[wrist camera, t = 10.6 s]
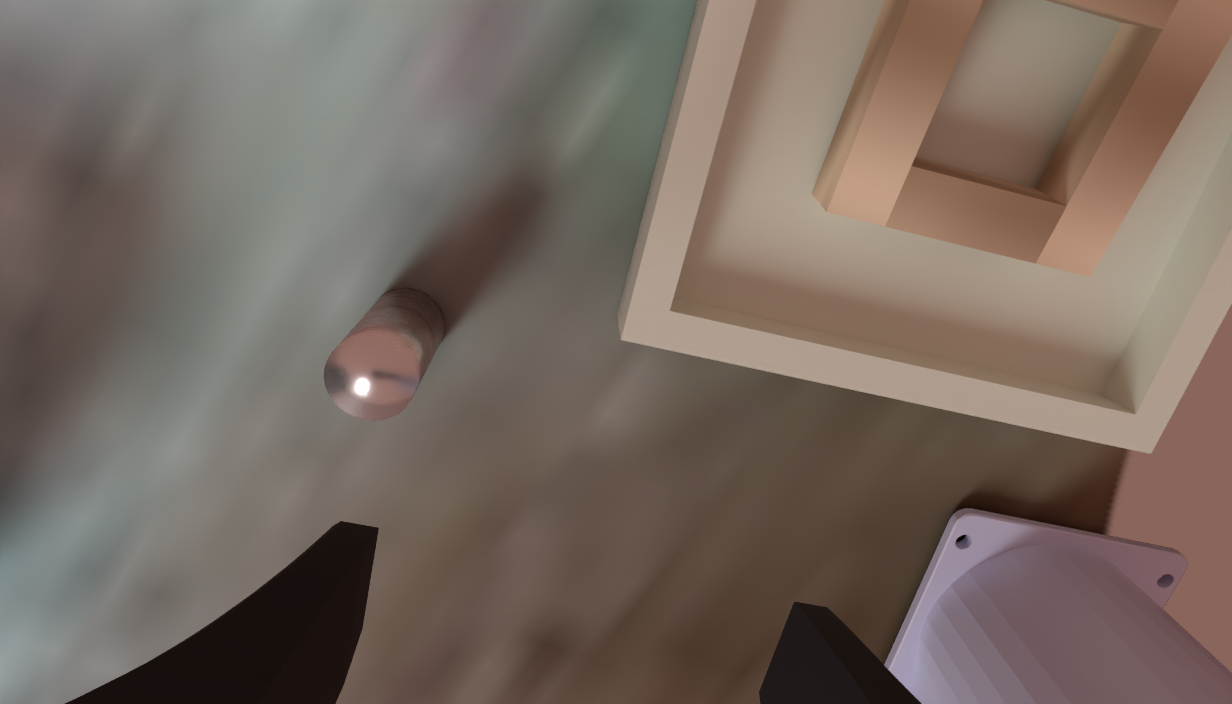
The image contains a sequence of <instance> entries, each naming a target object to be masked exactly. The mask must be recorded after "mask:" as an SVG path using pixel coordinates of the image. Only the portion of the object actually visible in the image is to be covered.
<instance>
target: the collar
mask: <svg viewBox="0 0 1232 704" xmlns="http://www.w3.org/2000/svg"><path fill="white" fill-rule="evenodd" d="M1046 1H1049V2H1053V3H1056V4H1059V5H1063V6H1066V7H1070V8H1073V9H1076V10H1080V11H1083V12H1087V13H1090V14H1093V15H1097V16H1100V17H1104V18H1107V19H1110V20H1114V21H1117V22H1120V23H1121V24H1120V26H1119V28H1118V30H1117V32H1116V34H1115V36H1114V38H1113V40H1112V42H1111V43H1110V45H1109V47H1108V49H1107V51H1106V53H1105V55H1104V57H1103V59H1102V61H1101V63H1100V65H1099V67H1098V69H1097V70H1096V72H1095V74H1094V76H1093V78H1092V80H1091V82H1090V84H1089V86H1088V88H1087V90H1086V92H1085V94H1084V96H1083V98H1082V99H1081V101H1080V103H1079V105H1078V107H1077V109H1076V111H1075V113H1074V115H1073V117H1072V119H1071V121H1070V123H1069V125H1068V126H1067V128H1066V130H1065V132H1064V134H1063V136H1062V138H1061V140H1060V142H1059V144H1058V146H1057V148H1056V150H1055V152H1054V153H1053V155H1052V157H1051V159H1050V161H1049V163H1048V165H1047V167H1046V169H1045V171H1044V173H1043V175H1042V177H1041V179H1040V180H1039V182H1038V184H1037V186H1036V188H1033V187H1029V186H1025V185H1021V184H1017V183H1014V182H1010V181H1006V180H1002V179H998V178H994V177H991V176H987V175H983V174H979V173H975V172H971V171H968V170H964V169H960V168H956V167H952V166H948V165H945V164H941V163H937V162H933V161H929V160H925V159H921V158H918V157H915V156H916V154H917V152H918V150H919V147H920V145H921V143H922V140H923V138H924V136H925V133H926V131H927V129H928V126H929V124H930V122H931V120H932V117H933V115H934V113H935V110H936V108H937V106H938V103H939V101H940V99H941V97H942V94H943V92H944V90H945V87H946V85H947V83H948V80H949V78H950V76H951V73H952V71H953V69H954V67H955V64H956V62H957V60H958V57H959V55H960V53H961V50H962V48H963V46H964V44H965V41H966V39H967V37H968V34H969V32H970V30H971V27H972V25H973V23H974V20H975V18H976V16H977V14H978V11H979V9H980V7H981V4H982V2H983V0H885V1H884V4H883V6H882V9H881V11H880V14H879V17H878V19H877V22H876V25H875V27H874V30H873V33H872V35H871V38H870V40H869V43H868V46H867V48H866V51H865V54H864V56H863V59H862V62H861V64H860V67H859V70H858V72H857V75H856V77H855V80H854V83H853V85H852V88H851V91H850V93H849V96H848V99H847V101H846V104H845V107H844V109H843V112H842V114H841V117H840V120H839V122H838V125H837V128H836V130H835V133H834V136H833V138H832V141H831V144H830V146H829V149H828V151H827V154H826V157H825V159H824V162H823V165H822V167H821V170H820V173H819V175H818V178H817V181H816V183H815V186H814V188H813V191H812V195H813V196H814V197H815V199H816V200H817V201H818V202H819V203H820V205H821V206H822V207H823V208H824V210H825V211H826V212H828V213H832V214H836V215H840V216H844V217H848V218H852V219H856V220H860V221H865V222H869V223H873V224H877V225H881V226H885V227H889V228H893V229H897V230H901V231H905V232H909V233H913V234H917V235H921V236H925V237H929V238H933V239H937V240H941V241H946V242H950V243H954V244H958V245H962V246H966V247H970V248H974V249H978V250H982V251H986V252H990V253H994V254H998V255H1002V256H1006V257H1010V258H1014V259H1018V260H1023V261H1027V262H1031V263H1035V264H1039V265H1043V266H1047V267H1051V268H1055V269H1059V270H1063V271H1067V272H1071V273H1075V274H1079V275H1083V276H1087V277H1090V276H1091V274H1092V273H1093V271H1094V269H1095V268H1096V266H1097V264H1098V262H1099V261H1100V259H1101V257H1102V256H1103V254H1104V252H1105V251H1106V249H1107V247H1108V245H1109V244H1110V242H1111V240H1112V239H1113V237H1114V235H1115V233H1116V232H1117V230H1118V228H1119V227H1120V225H1121V223H1122V221H1123V220H1124V218H1125V216H1126V215H1127V213H1128V211H1129V210H1130V208H1131V206H1132V204H1133V203H1134V201H1135V199H1136V198H1137V196H1138V194H1139V192H1140V191H1141V189H1142V187H1143V186H1144V184H1145V182H1146V180H1147V179H1148V177H1149V175H1150V174H1151V172H1152V170H1153V169H1154V167H1155V165H1156V163H1157V162H1158V160H1159V158H1160V157H1161V155H1162V153H1163V151H1164V150H1165V148H1166V146H1167V145H1168V143H1169V141H1170V139H1171V138H1172V136H1173V134H1174V133H1175V131H1176V129H1177V128H1178V126H1179V124H1180V122H1181V121H1182V119H1183V117H1184V116H1185V114H1186V112H1187V110H1188V109H1189V107H1190V105H1191V104H1192V102H1193V100H1194V98H1195V97H1196V95H1197V93H1198V92H1199V90H1200V88H1201V87H1202V85H1203V83H1204V81H1205V80H1206V78H1207V76H1208V75H1209V73H1210V71H1211V69H1212V68H1213V66H1214V64H1215V63H1216V61H1217V59H1218V57H1219V56H1220V54H1221V52H1222V51H1223V49H1224V47H1225V46H1226V44H1227V42H1228V40H1229V39H1230V37H1231V35H1232V0H1046Z"/></svg>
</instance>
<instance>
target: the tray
mask: <svg viewBox="0 0 1232 704" xmlns="http://www.w3.org/2000/svg"><path fill="white" fill-rule="evenodd" d="M884 1H885V0H697V4H696V8H695V12H694V16H693V20H692V24H691V28H690V32H689V36H688V40H687V43H686V47H685V51H684V55H683V59H682V63H681V67H680V71H679V75H678V79H677V83H676V87H675V91H674V94H673V98H672V102H671V106H670V110H669V114H668V118H667V122H666V126H665V130H664V134H663V138H662V141H661V145H660V149H659V153H658V157H657V161H656V165H655V169H654V173H653V177H652V181H651V185H650V188H649V192H648V196H647V200H646V204H645V208H644V212H643V216H642V220H641V224H640V228H639V232H638V235H637V239H636V243H635V247H634V251H633V255H632V259H631V263H630V267H629V271H628V275H627V279H626V283H625V286H624V290H623V294H622V298H621V302H620V306H619V310H618V314H617V319H618V325H619V331H620V338H621V340H624V341H629V342H633V343H638V344H643V345H647V346H652V347H657V348H661V349H666V350H671V351H675V352H680V353H684V354H689V355H694V356H698V357H703V358H708V359H712V360H717V361H722V362H726V363H731V364H735V365H740V366H745V367H749V368H754V369H759V370H763V371H768V372H773V373H777V374H782V375H786V376H791V377H796V378H800V379H805V380H810V381H814V382H819V383H824V384H828V385H833V386H837V387H842V388H847V389H851V390H856V391H861V392H865V393H870V394H875V395H879V396H884V397H888V398H893V399H898V400H902V401H907V402H912V403H916V404H921V405H926V406H930V407H935V408H939V409H944V410H949V411H953V412H958V413H963V414H967V415H972V416H977V417H981V418H986V419H991V420H995V421H1000V422H1004V423H1009V424H1014V425H1018V426H1023V427H1028V428H1032V429H1037V430H1042V431H1046V432H1051V433H1055V434H1060V435H1065V436H1069V437H1074V438H1079V439H1083V440H1088V441H1093V442H1097V443H1102V444H1106V445H1111V446H1116V447H1120V448H1125V449H1130V450H1134V451H1139V452H1144V453H1148V454H1152V452H1153V450H1154V448H1155V446H1156V444H1157V442H1158V440H1159V439H1160V437H1161V435H1162V433H1163V431H1164V429H1165V427H1166V425H1167V424H1168V422H1169V420H1170V418H1171V416H1172V414H1173V412H1174V411H1175V409H1176V407H1177V405H1178V403H1179V401H1180V399H1181V397H1182V396H1183V394H1184V392H1185V390H1186V388H1187V386H1188V384H1189V382H1190V381H1191V379H1192V377H1193V375H1194V373H1195V371H1196V369H1197V367H1198V366H1199V364H1200V362H1201V360H1202V358H1203V356H1204V354H1205V353H1206V350H1207V349H1208V347H1209V345H1210V343H1211V341H1212V339H1213V337H1214V336H1215V333H1216V332H1217V330H1218V328H1219V326H1220V324H1221V322H1222V321H1223V319H1224V317H1225V315H1226V313H1227V311H1228V309H1229V308H1230V306H1231V304H1232V35H1231V37H1230V39H1229V40H1228V42H1227V44H1226V46H1225V47H1224V49H1223V51H1222V52H1221V54H1220V56H1219V57H1218V59H1217V61H1216V63H1215V64H1214V66H1213V68H1212V69H1211V71H1210V73H1209V75H1208V76H1207V78H1206V80H1205V81H1204V83H1203V85H1202V87H1201V88H1200V90H1199V92H1198V93H1197V95H1196V97H1195V98H1194V100H1193V102H1192V104H1191V105H1190V107H1189V109H1188V110H1187V112H1186V114H1185V116H1184V117H1183V119H1182V121H1181V122H1180V124H1179V126H1178V128H1177V129H1176V131H1175V133H1174V134H1173V136H1172V138H1171V139H1170V141H1169V143H1168V145H1167V146H1166V148H1165V150H1164V151H1163V153H1162V155H1161V157H1160V158H1159V160H1158V162H1157V163H1156V165H1155V167H1154V169H1153V170H1152V172H1151V174H1150V175H1149V177H1148V179H1147V180H1146V182H1145V184H1144V186H1143V187H1142V189H1141V191H1140V192H1139V194H1138V196H1137V198H1136V199H1135V201H1134V203H1133V204H1132V206H1131V208H1130V210H1129V211H1128V213H1127V215H1126V216H1125V218H1124V220H1123V221H1122V223H1121V225H1120V227H1119V228H1118V230H1117V232H1116V233H1115V235H1114V237H1113V239H1112V240H1111V242H1110V244H1109V245H1108V247H1107V249H1106V251H1105V252H1104V254H1103V256H1102V257H1101V259H1100V261H1099V262H1098V264H1097V266H1096V268H1095V269H1094V271H1093V273H1092V274H1091V276H1090V277H1087V276H1083V275H1079V274H1075V273H1071V272H1067V271H1063V270H1059V269H1055V268H1051V267H1047V266H1043V265H1039V264H1035V263H1031V262H1027V261H1023V260H1018V259H1014V258H1010V257H1006V256H1002V255H998V254H994V253H990V252H986V251H982V250H978V249H974V248H970V247H966V246H962V245H958V244H954V243H950V242H946V241H941V240H937V239H933V238H929V237H925V236H921V235H917V234H913V233H909V232H905V231H901V230H897V229H893V228H889V227H885V226H881V225H877V224H873V223H869V222H865V221H860V220H856V219H852V218H848V217H844V216H840V215H836V214H832V213H828V212H826V211H825V210H824V208H823V207H822V206H821V205H820V203H819V202H818V201H817V200H816V199H815V197H814V196H813V195H812V191H813V188H814V186H815V183H816V181H817V178H818V175H819V173H820V170H821V167H822V165H823V162H824V159H825V157H826V154H827V151H828V149H829V146H830V144H831V141H832V138H833V136H834V133H835V130H836V128H837V125H838V122H839V120H840V117H841V114H842V112H843V109H844V107H845V104H846V101H847V99H848V96H849V93H850V91H851V88H852V85H853V83H854V80H855V77H856V75H857V72H858V70H859V67H860V64H861V62H862V59H863V56H864V54H865V51H866V48H867V46H868V43H869V40H870V38H871V35H872V33H873V30H874V27H875V25H876V22H877V19H878V17H879V14H880V11H881V9H882V6H883V4H884ZM1120 24H1121V23H1120V22H1117V21H1114V20H1110V19H1107V18H1104V17H1100V16H1097V15H1093V14H1090V13H1087V12H1083V11H1080V10H1076V9H1073V8H1070V7H1066V6H1063V5H1059V4H1056V3H1053V2H1049V1H1046V0H983V2H982V4H981V7H980V9H979V11H978V14H977V16H976V18H975V20H974V23H973V25H972V27H971V30H970V32H969V34H968V37H967V39H966V41H965V44H964V46H963V48H962V50H961V53H960V55H959V57H958V60H957V62H956V64H955V67H954V69H953V71H952V73H951V76H950V78H949V80H948V83H947V85H946V87H945V90H944V92H943V94H942V97H941V99H940V101H939V103H938V106H937V108H936V110H935V113H934V115H933V117H932V120H931V122H930V124H929V126H928V129H927V131H926V133H925V136H924V138H923V140H922V143H921V145H920V147H919V150H918V152H917V154H916V156H915V157H918V158H921V159H925V160H929V161H933V162H937V163H941V164H945V165H948V166H952V167H956V168H960V169H964V170H968V171H971V172H975V173H979V174H983V175H987V176H991V177H994V178H998V179H1002V180H1006V181H1010V182H1014V183H1017V184H1021V185H1025V186H1029V187H1033V188H1036V186H1037V184H1038V182H1039V180H1040V179H1041V177H1042V175H1043V173H1044V171H1045V169H1046V167H1047V165H1048V163H1049V161H1050V159H1051V157H1052V155H1053V153H1054V152H1055V150H1056V148H1057V146H1058V144H1059V142H1060V140H1061V138H1062V136H1063V134H1064V132H1065V130H1066V128H1067V126H1068V125H1069V123H1070V121H1071V119H1072V117H1073V115H1074V113H1075V111H1076V109H1077V107H1078V105H1079V103H1080V101H1081V99H1082V98H1083V96H1084V94H1085V92H1086V90H1087V88H1088V86H1089V84H1090V82H1091V80H1092V78H1093V76H1094V74H1095V72H1096V70H1097V69H1098V67H1099V65H1100V63H1101V61H1102V59H1103V57H1104V55H1105V53H1106V51H1107V49H1108V47H1109V45H1110V43H1111V42H1112V40H1113V38H1114V36H1115V34H1116V32H1117V30H1118V28H1119V26H1120Z"/></svg>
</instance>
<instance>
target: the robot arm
mask: <svg viewBox="0 0 1232 704" xmlns="http://www.w3.org/2000/svg"><path fill="white" fill-rule="evenodd" d="M378 529H379V528H377V527H371V526H365V525H360V524H354V523H349V522H343V521H340V522H339V523H337V524H335V525H334V526H332V527H331V528H330V529H329V530H328V531H327V532H326V533H325V534H324V535H323V536H322V537H320V538H319V539H318V540H317V541H316V542H315V543H314V544H313V545H312V546H310V547H309V548H308V549H307V550H306V551H305V552H304V553H302V554H301V555H300V556H299V557H298V558H296V559H295V560H294V561H293V562H292V563H291V564H289V565H288V566H287V567H286V568H284V569H283V570H282V571H281V572H279V573H278V574H277V575H276V576H274V577H273V578H272V579H271V580H269V581H268V582H267V583H265V584H264V585H263V586H262V587H260V588H259V589H258V590H257V591H255V592H254V593H253V594H251V595H250V596H249V597H247V598H246V599H244V600H243V601H242V602H240V603H239V604H237V605H236V606H235V607H233V608H232V609H230V610H229V611H227V612H226V613H225V614H223V615H222V616H220V617H219V618H218V619H216V620H215V621H213V622H212V623H210V624H209V625H207V626H206V627H204V628H203V629H201V630H200V631H198V632H197V633H195V634H194V635H192V636H190V637H189V638H187V639H186V640H184V641H182V642H181V643H179V644H178V645H176V646H174V647H173V648H171V649H169V650H168V651H166V652H164V653H162V654H161V655H159V656H157V657H156V658H154V659H152V660H151V661H149V662H147V663H145V664H143V665H141V666H140V667H138V668H136V669H134V670H132V671H130V672H128V673H126V674H124V675H122V676H120V677H118V678H116V679H114V680H112V681H110V682H108V683H106V684H104V685H102V686H100V687H98V688H96V689H94V690H92V691H90V692H88V693H86V694H84V695H82V696H80V697H78V698H76V699H74V700H72V701H70V702H67V703H65V704H335V703H336V701H337V699H338V696H339V694H340V692H341V690H342V688H343V685H344V682H345V679H346V676H347V673H348V670H349V667H350V664H351V662H352V659H353V655H354V652H355V649H356V646H357V643H358V640H359V637H360V634H361V631H362V628H363V621H364V615H365V609H366V603H367V597H368V591H369V585H370V578H371V572H372V566H373V560H374V554H375V548H376V542H377V535H378ZM962 535H966V536H965V538H964V539H963V540H961V541H959V542H956V540H957V538H958V537H960V536H962ZM1187 565H1188V564H1187V559H1186V558H1185V557H1184V556H1183V555H1182V554H1181V553H1180V552H1178V551H1177V550H1175V549H1173V548H1168V547H1163V546H1158V545H1152V544H1148V543H1143V542H1138V541H1133V540H1128V539H1123V538H1118V537H1113V536H1108V535H1103V534H1098V533H1093V532H1088V531H1083V530H1078V529H1073V528H1068V527H1063V526H1058V525H1053V524H1048V523H1043V522H1038V521H1033V520H1028V519H1023V518H1017V517H1012V516H1007V515H1002V514H997V513H992V512H987V511H982V510H977V509H972V508H964V509H961V510H958V511H957V512H955V513H954V514H953V515H952V517H951V518H950V520H949V522H948V524H947V526H946V529H945V531H944V533H943V535H942V538H941V540H940V542H939V544H938V546H937V549H936V551H935V553H934V555H933V558H932V560H931V562H930V564H929V566H928V569H927V571H926V573H925V575H924V578H923V580H922V582H921V584H920V586H919V589H918V591H917V593H916V595H915V598H914V600H913V602H912V604H911V606H910V609H909V611H908V613H907V615H906V618H905V620H904V622H903V624H902V626H901V629H900V631H899V633H898V635H897V638H896V640H895V642H894V644H893V646H892V649H891V651H890V653H889V655H888V658H887V660H886V662H885V664H884V665H883V664H882V662H881V661H880V660H879V659H878V658H877V657H876V656H875V655H874V654H873V653H872V652H871V651H870V650H869V649H868V648H867V647H866V646H865V645H864V644H863V643H862V641H861V640H860V639H859V638H858V637H857V636H856V635H855V634H854V633H853V632H852V631H851V630H850V629H849V628H848V627H847V626H846V625H845V624H844V623H843V622H842V621H841V620H840V619H839V618H838V617H837V616H836V615H835V614H834V613H833V612H831V611H830V610H829V609H828V608H827V607H822V606H816V605H810V604H805V603H799V602H794V604H793V606H792V609H791V611H790V614H789V617H788V619H787V622H786V624H785V627H784V629H783V632H782V635H781V637H780V640H779V642H778V645H777V647H776V650H775V653H774V655H773V658H772V660H771V663H770V665H769V668H768V671H767V673H766V676H765V678H764V681H763V684H762V686H761V689H760V691H759V695H760V703H761V704H1232V673H1231V672H1230V671H1229V670H1228V669H1227V668H1226V667H1225V666H1224V665H1223V664H1222V663H1221V662H1219V661H1218V660H1217V659H1216V658H1215V657H1214V656H1213V655H1212V654H1211V653H1210V652H1209V651H1208V650H1206V649H1205V648H1204V647H1203V646H1202V645H1201V644H1200V643H1199V642H1198V641H1197V640H1196V639H1194V638H1193V637H1192V636H1191V635H1190V634H1189V633H1188V632H1187V631H1186V630H1185V629H1184V628H1183V627H1182V626H1180V625H1179V624H1178V623H1177V622H1176V621H1175V620H1174V619H1173V618H1172V617H1171V616H1170V615H1168V614H1167V613H1166V612H1165V611H1164V610H1163V608H1164V606H1165V605H1166V603H1167V601H1168V600H1169V598H1170V596H1171V594H1172V593H1173V591H1174V589H1175V588H1176V586H1177V584H1178V582H1179V581H1180V579H1181V577H1182V576H1183V574H1184V572H1185V570H1186V568H1187ZM1161 576H1162V577H1161ZM1159 577H1161V578H1160V579H1159Z"/></svg>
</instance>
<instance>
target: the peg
mask: <svg viewBox="0 0 1232 704" xmlns="http://www.w3.org/2000/svg"><path fill="white" fill-rule="evenodd" d="M444 330H445V322H444V317H443V314H442V312H441V309H440V308H439V306H438V305H437V304H436V302H435V301H434V300H433V299H432V298H430V297H429V296H428V295H426V294H424V293H422V292H420V291H418V290H414V289H408V288H402V289H395V290H392V291H389V292H387V293H386V294H384V295H383V296H381V297H380V298H379V299H378V300H377V301H376V303H375V304H374V305H373V306H372V307H371V308H370V309H369V311H368V312H367V313H366V314H365V315H364V316H363V318H362V319H361V320H360V321H359V322H358V323H357V324H356V326H355V327H354V328H353V329H352V330H351V331H350V332H349V334H348V335H347V336H346V337H345V338H344V339H343V340H342V342H341V343H340V344H339V345H338V346H337V347H336V348H335V350H334V351H333V352H332V353H331V355H330V356H329V358H328V360H327V362H326V365H325V370H324V381H325V386H326V389H327V391H328V393H329V395H330V397H331V398H332V400H333V401H334V402H335V404H336V405H337V406H338V407H340V408H341V409H342V410H343V411H345V412H346V413H348V414H350V415H352V416H354V417H357V418H360V419H364V420H373V421H376V420H384V419H388V418H391V417H393V416H395V415H397V414H399V413H400V412H401V411H403V410H404V409H405V408H406V407H407V405H408V404H409V403H410V401H411V399H412V397H413V395H414V393H415V392H416V390H417V388H418V386H419V384H420V382H421V380H422V378H423V376H424V374H425V372H426V370H427V368H428V366H429V364H430V362H431V360H432V358H433V356H434V354H435V352H436V350H437V348H438V346H439V344H440V342H441V340H442V338H443V335H444Z"/></svg>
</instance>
